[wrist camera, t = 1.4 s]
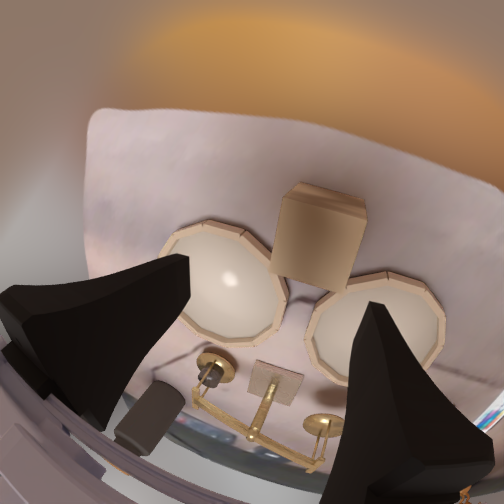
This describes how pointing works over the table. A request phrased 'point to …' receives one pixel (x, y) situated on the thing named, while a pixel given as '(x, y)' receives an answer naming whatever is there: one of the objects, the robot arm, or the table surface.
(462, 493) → the figurine
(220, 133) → the table surface
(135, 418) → the bottle
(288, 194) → the maple block
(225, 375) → the balance scale
